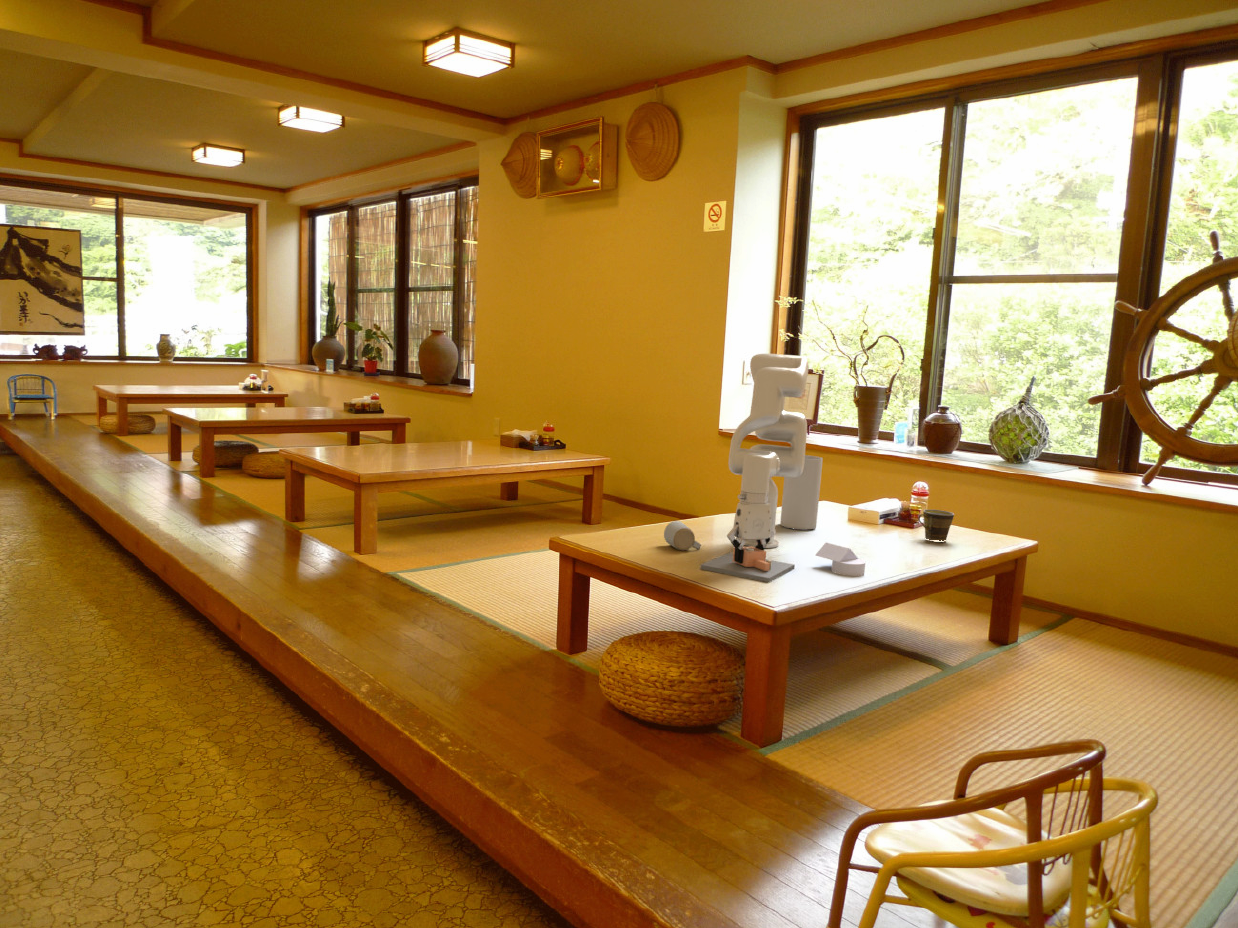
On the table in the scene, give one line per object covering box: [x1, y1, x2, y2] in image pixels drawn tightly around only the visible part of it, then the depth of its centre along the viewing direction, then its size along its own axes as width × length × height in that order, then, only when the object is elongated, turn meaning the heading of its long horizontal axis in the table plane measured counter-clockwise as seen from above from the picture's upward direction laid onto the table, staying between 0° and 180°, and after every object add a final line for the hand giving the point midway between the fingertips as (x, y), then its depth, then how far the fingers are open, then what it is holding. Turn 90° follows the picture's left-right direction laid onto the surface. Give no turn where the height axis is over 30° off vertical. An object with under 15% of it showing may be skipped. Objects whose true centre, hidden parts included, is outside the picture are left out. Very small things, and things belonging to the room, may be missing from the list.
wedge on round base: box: [815, 542, 866, 577], centre depth 250 cm, size 9×7×13 cm
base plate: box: [699, 548, 796, 583], centre depth 244 cm, size 20×20×6 cm
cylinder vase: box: [779, 454, 824, 531], centre depth 309 cm, size 12×12×25 cm
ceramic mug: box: [663, 520, 702, 551], centre depth 265 cm, size 11×8×8 cm
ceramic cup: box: [917, 509, 955, 541], centre depth 300 cm, size 13×10×10 cm
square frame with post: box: [732, 546, 770, 571], centre depth 242 cm, size 11×6×4 cm, turn 29°
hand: (748, 560), depth 244 cm, fingers closed on square frame with post, 6 cm apart
